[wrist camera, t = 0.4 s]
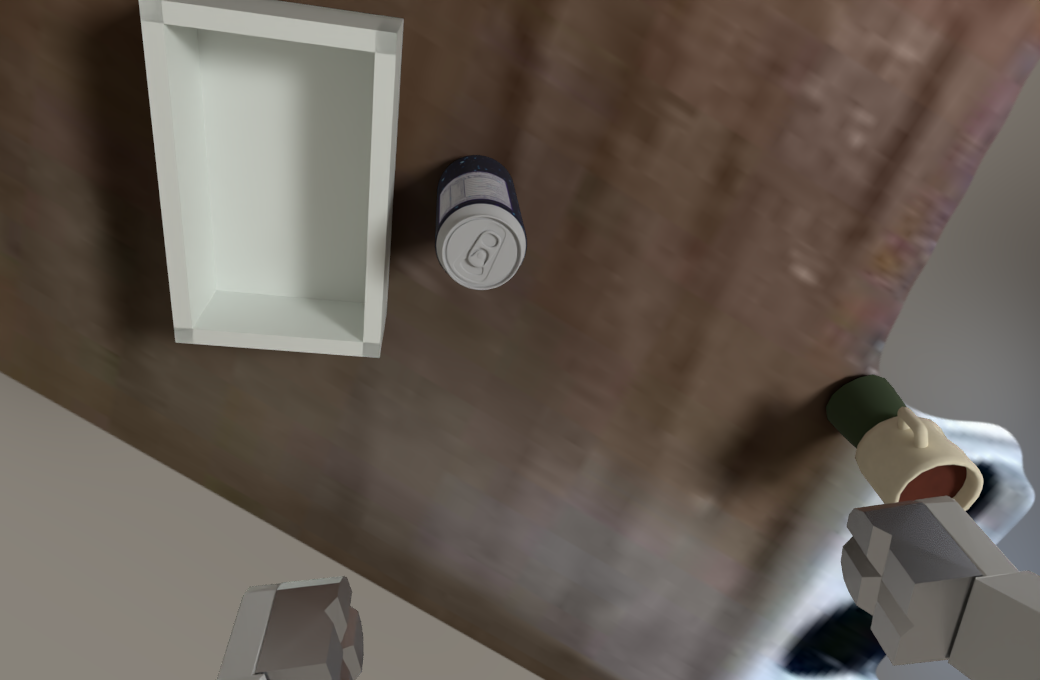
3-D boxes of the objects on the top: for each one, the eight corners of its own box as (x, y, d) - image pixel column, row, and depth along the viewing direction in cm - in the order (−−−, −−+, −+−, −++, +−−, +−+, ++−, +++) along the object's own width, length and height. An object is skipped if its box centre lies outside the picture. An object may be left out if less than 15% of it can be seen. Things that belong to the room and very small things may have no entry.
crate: (179, -14, 45) (138, -4, 39) (403, 18, 47) (396, 33, 41) (204, 297, 56) (175, 342, 50) (386, 312, 58) (379, 357, 52)
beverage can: (423, 201, 54) (417, 268, 43) (462, 136, 52) (465, 191, 41) (487, 238, 56) (496, 310, 45) (528, 177, 54) (547, 238, 43)
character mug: (896, 432, 69) (982, 530, 58) (823, 453, 70) (894, 555, 59) (892, 340, 64) (986, 429, 53) (813, 364, 64) (889, 457, 53)
